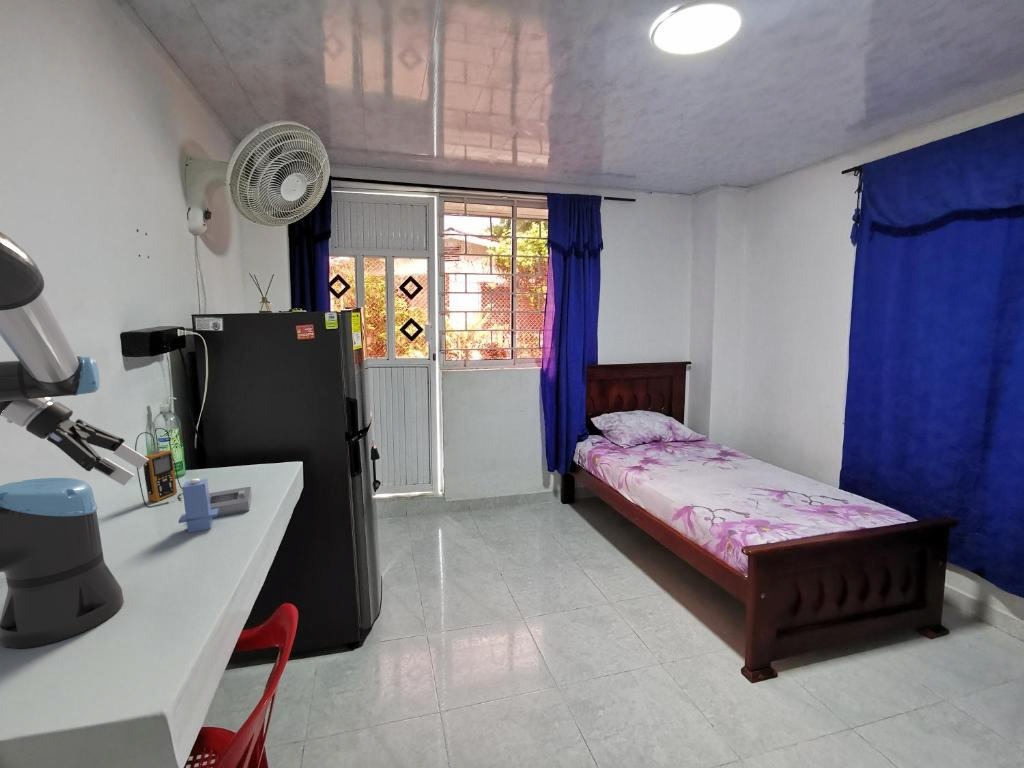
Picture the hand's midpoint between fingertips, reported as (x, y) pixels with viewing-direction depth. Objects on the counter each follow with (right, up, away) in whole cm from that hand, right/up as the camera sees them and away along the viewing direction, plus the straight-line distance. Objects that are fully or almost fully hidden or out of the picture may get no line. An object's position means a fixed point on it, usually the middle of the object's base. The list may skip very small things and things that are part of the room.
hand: (137, 471), depth 112 cm
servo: (+11, -14, +6) cm, 19 cm away
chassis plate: (+9, -13, +20) cm, 25 cm away
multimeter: (-11, -13, +29) cm, 34 cm away
